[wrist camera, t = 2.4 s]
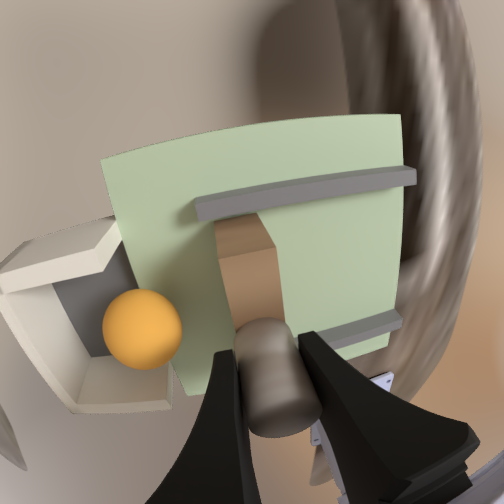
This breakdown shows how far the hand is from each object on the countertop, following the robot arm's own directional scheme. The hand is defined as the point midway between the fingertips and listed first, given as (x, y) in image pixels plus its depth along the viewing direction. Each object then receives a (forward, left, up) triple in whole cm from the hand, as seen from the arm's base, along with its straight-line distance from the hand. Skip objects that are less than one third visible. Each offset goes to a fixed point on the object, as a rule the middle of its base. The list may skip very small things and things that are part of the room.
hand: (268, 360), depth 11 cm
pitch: (0, +2, -7) cm, 7 cm away
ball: (0, +5, -3) cm, 7 cm away
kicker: (0, 0, -6) cm, 6 cm away
